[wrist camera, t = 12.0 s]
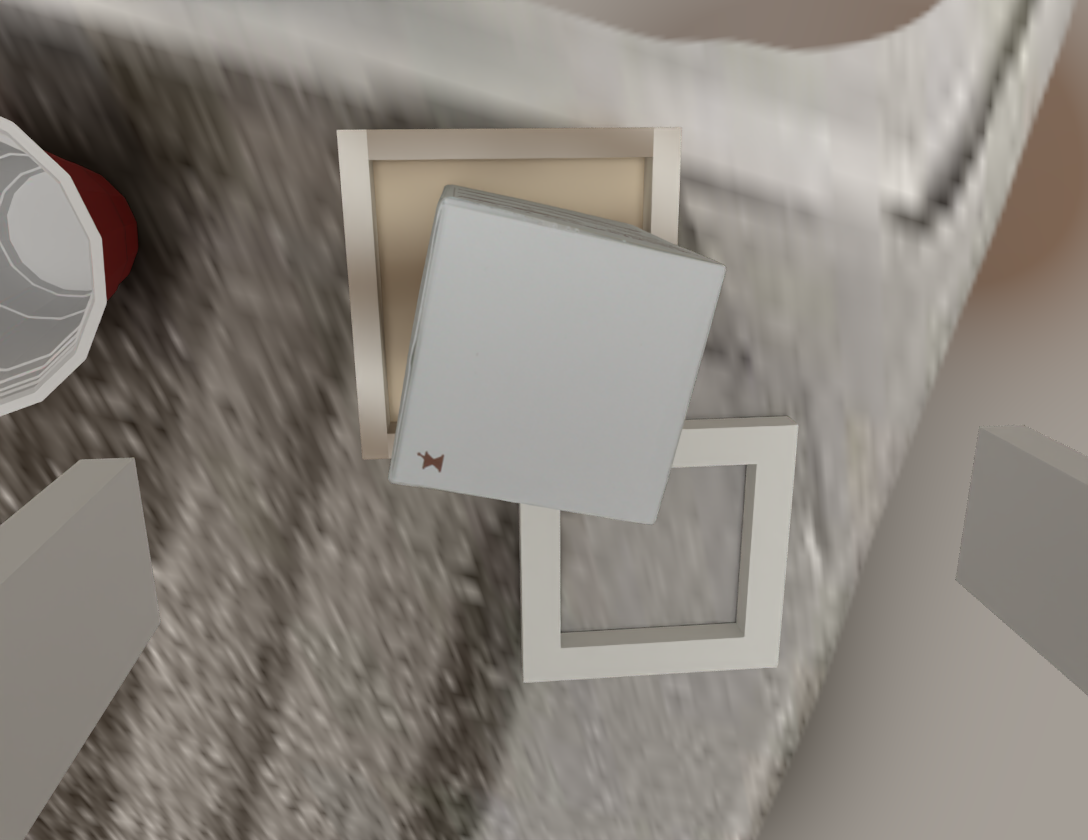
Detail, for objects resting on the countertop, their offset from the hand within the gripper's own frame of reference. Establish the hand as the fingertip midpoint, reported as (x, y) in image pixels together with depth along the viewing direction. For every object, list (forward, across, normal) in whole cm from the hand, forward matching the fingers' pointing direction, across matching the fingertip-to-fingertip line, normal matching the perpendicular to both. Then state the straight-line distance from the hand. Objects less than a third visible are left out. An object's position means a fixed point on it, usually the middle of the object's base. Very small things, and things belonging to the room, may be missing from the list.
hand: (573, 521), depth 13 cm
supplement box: (+21, 0, 0) cm, 21 cm away
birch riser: (+29, 0, 0) cm, 29 cm away
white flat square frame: (+29, -8, +15) cm, 33 cm away
